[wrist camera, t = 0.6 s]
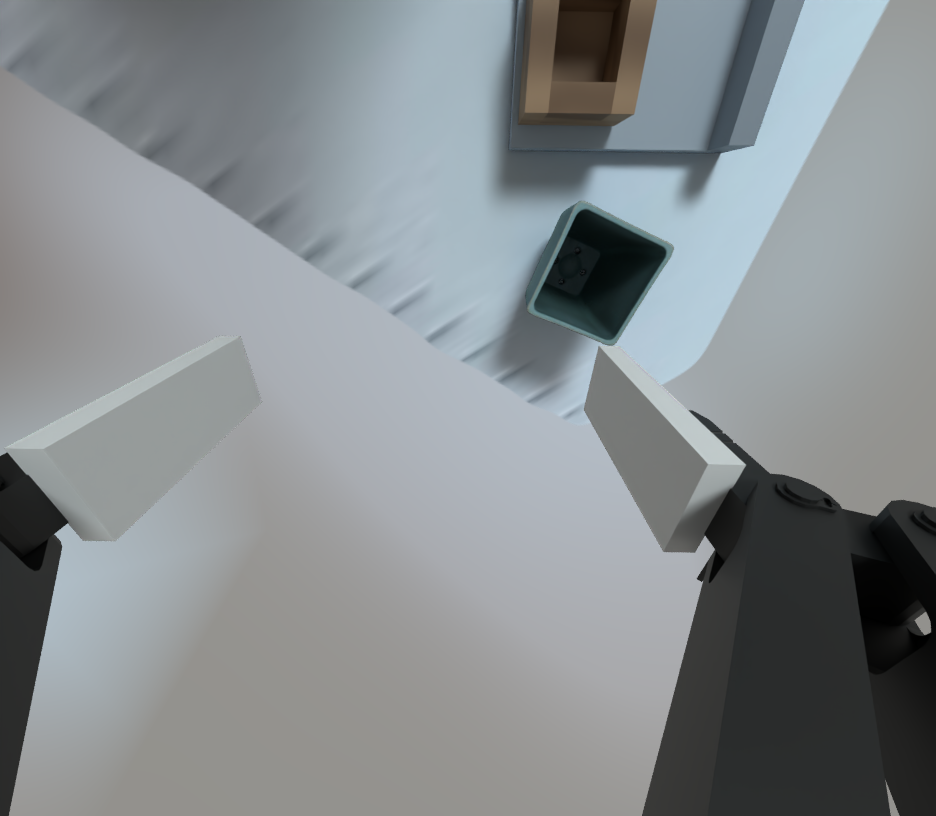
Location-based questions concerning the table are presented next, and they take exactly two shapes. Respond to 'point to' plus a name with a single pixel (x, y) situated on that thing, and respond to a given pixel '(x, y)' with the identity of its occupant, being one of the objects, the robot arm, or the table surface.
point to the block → (583, 60)
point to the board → (684, 81)
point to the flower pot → (595, 273)
